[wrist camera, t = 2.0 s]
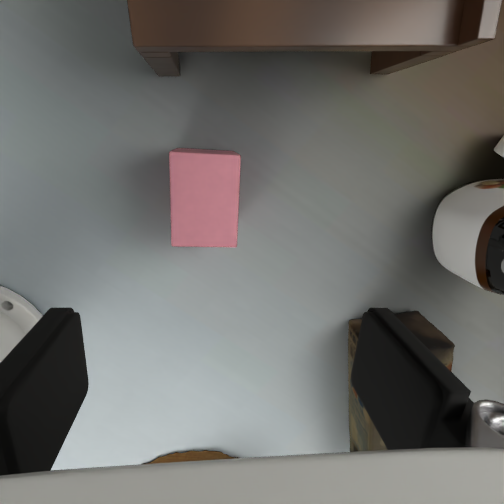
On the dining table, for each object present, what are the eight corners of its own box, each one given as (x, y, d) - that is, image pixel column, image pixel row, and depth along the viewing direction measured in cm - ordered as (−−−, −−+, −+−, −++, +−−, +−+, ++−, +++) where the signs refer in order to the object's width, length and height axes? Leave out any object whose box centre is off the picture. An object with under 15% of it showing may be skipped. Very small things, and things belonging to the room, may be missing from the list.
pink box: (177, 225, 28) (171, 246, 23) (176, 147, 26) (169, 151, 21) (231, 227, 29) (236, 247, 24) (234, 151, 27) (241, 155, 22)
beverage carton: (344, 451, 40) (369, 509, 34) (342, 316, 34) (373, 357, 27) (406, 439, 41) (442, 493, 35) (416, 304, 34) (462, 341, 28)
